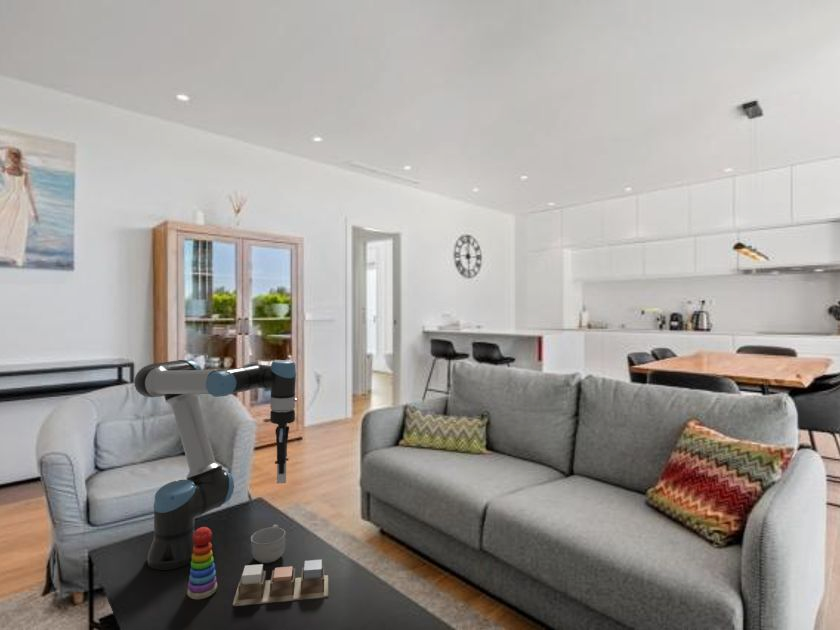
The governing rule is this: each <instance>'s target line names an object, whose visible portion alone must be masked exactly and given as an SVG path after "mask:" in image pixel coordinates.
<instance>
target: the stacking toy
mask: <svg viewBox="0 0 840 630" xmlns="http://www.w3.org/2000/svg"><path fill="white" fill-rule="evenodd" d="M194 531H195V532H194V534H193V542H194V543H195V544H196V545H195V546H194V547H193V552H194V553H193V554H192V561H191V563H190V569H189V572H190V574H189V576H188V577H189V579H188V580H189V581H188V583H187V590H186V593H187V596H188V597H189V598H190V599H192V600H202V599H206V598H208V597H210V596H212V595H213V594H214V593H215V592H216V591H217V590H218V583H217V572H216V564H215V563H214V562H215V559H214V558H215V557H214V556H213V550H212V549H213V544H212V543H211V540H212V537H213V533H212V530H211V529H210V527H207V526H202V527H198V528H197V529H196V530H194Z"/></svg>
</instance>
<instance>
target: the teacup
mask: <svg viewBox="0 0 840 630" xmlns="http://www.w3.org/2000/svg"><path fill="white" fill-rule="evenodd" d="M250 542H251V543H250V544H251V546H250V547H251V554H252V557H253V559H254V560H256V561H257V562H259V563H260V564H270V563H274V562H276V561H277V560H279V559H280V557H282V556H283V554H284V552H285V550H286V530H284V528H281V527H279V525H278V524H273V525H272V527H265V528H262V529H259V530H257V531H255V532H254V533H253V534H251V536H250Z"/></svg>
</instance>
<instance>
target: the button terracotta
mask: <svg viewBox="0 0 840 630" xmlns="http://www.w3.org/2000/svg"><path fill="white" fill-rule="evenodd" d="M293 568H294V567H293V566H291V565H290V566H283V567H282V566H280V567H275V568H274V570H275V572H274V577H273V582H281V581H292V574H293Z"/></svg>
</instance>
